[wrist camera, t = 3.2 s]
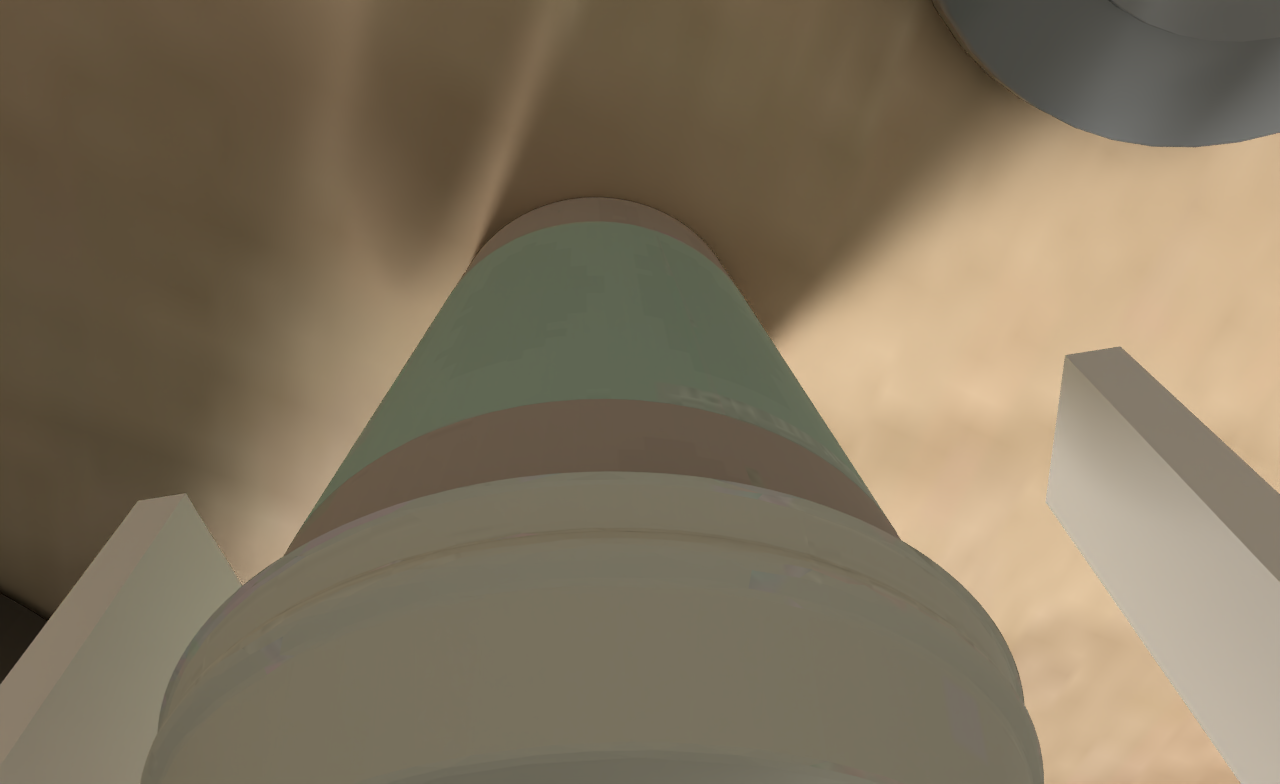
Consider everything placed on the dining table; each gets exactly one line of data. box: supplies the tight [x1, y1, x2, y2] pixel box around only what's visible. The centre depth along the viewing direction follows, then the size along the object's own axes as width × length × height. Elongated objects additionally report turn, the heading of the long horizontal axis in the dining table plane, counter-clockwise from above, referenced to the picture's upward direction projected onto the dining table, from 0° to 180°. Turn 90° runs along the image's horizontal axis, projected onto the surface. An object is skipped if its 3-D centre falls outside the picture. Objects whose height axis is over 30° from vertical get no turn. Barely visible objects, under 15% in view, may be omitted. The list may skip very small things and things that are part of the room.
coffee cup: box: [140, 197, 1044, 784], centre depth 12 cm, size 8×9×12 cm
